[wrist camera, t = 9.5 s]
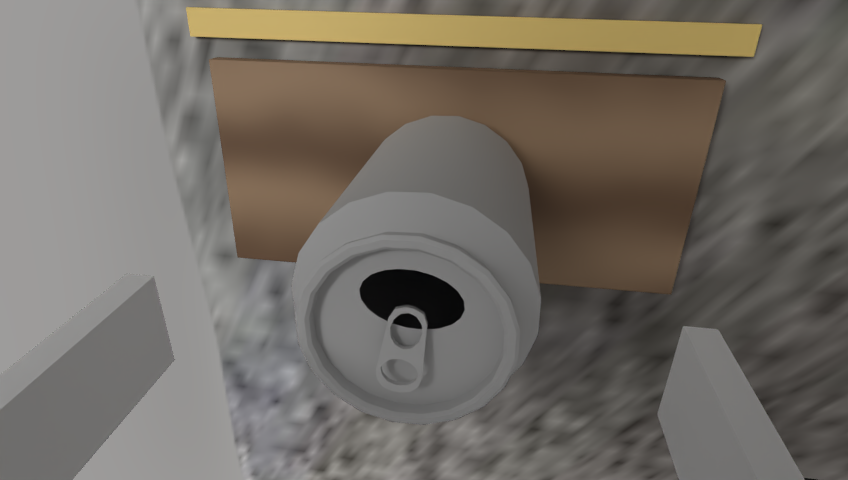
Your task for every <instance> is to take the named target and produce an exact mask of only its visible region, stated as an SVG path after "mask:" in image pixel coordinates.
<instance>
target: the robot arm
mask: <svg viewBox="0 0 848 480" xmlns="http://www.w3.org/2000/svg"><path fill="white" fill-rule="evenodd" d="M173 361H174V356H173V351H172V347H171V343H170V339H169V336H168V331H167V327H166V323H165V319H164V315H163V311H162V307H161V304H160V299H159V296H158V292H157V287H156V283H155V279H154V276H146V275H135V274H126V275H124V276H123V277H122V278H121V279H119V280H118V281H117V282H116V283H114V284H113V285H112V286H111V287H109V288H108V289H107V290H106V291H104V292H103V293H102V294H101V295H99V296H98V297H97V298H96V299H94V300H93V301H92V302H91V303H89V304H88V305H87V306H86V307H84V308H83V309H82V310H81V311H79V312H78V313H77V314H76V315H74V316H73V317H72V318H71V319H69V320H68V321H67V322H66V323H64V324H63V325H62V326H61V327H59V328H58V329H57V330H56V331H54V332H53V333H52V334H51V335H49V336H48V337H47V338H46V339H44V340H43V341H42V342H41V343H39V344H38V345H37V346H36V347H34V348H33V349H32V350H31V351H29V352H28V353H27V354H26V355H24V356H23V357H22V358H21V359H19V360H18V361H17V362H16V363H14V364H13V365H12V366H11V367H9V368H8V369H7V370H6V371H4V372H3V373H2V374H1V375H0V480H73V478H74V477H75V476H76V475H77V474H78V472H79V471H80V470H81V469H82V468H83V467H84V465H85V464H86V463H87V462H88V461H89V460H90V458H91V457H92V456H93V455H94V454H95V453H96V451H97V450H98V449H99V448H100V447H101V445H102V444H103V443H104V442H105V441H106V439H108V437H109V436H110V435H111V434H112V433H113V431H114V430H115V429H116V428H117V427H118V425H119V424H120V423H121V422H122V421H123V420H124V419H125V417H126V416H127V415H128V414H129V413H130V412H131V410H132V409H133V408H134V407H135V406H136V405H137V403H138V402H139V401H140V400H141V399H142V397H143V396H144V395H145V394H146V393H147V391H148V390H149V389H150V388H151V387H152V386H153V385H154V383H155V382H156V381H157V380H158V379H159V378H160V376H161V375H162V374H163V373H164V372H165V371H166V369H167V368H168V367H169V366H170V365H171V363H172V362H173ZM657 415H658V418H659V421H660V424H661V427H662V430H663V433H664V436H665V439H666V442H667V445H668V448H669V452H670V455H671V458H672V461H673V464H674V467H675V470H676V473H677V476H678V479H679V480H816V479H808V478H804V477H803V476H802V474H801V472H800V470H799V469H798V467H797V465H796V463H795V462H794V460H793V458H792V457H791V455H790V453H789V451H788V450H787V448H786V446H785V444H784V443H783V441H782V439H781V437H780V436H779V434H778V432H777V431H776V429H775V427H774V425H773V424H772V422H771V420H770V418H769V417H768V415H767V413H766V411H765V410H764V408H763V406H762V405H761V403H760V401H759V399H758V398H757V396H756V394H755V392H754V391H753V389H752V387H751V385H750V384H749V382H748V380H747V379H746V377H745V375H744V373H743V372H742V370H741V368H740V366H739V365H738V363H737V361H736V359H735V358H734V356H733V354H732V352H731V351H730V349H729V347H728V346H727V344H726V342H725V340H724V339H723V337H722V335H721V333H720V332H719V330H718V329H710V328H700V327H689V326H683V328H682V331H681V335H680V338H679V342H678V345H677V348H676V352H675V355H674V359H673V362H672V366H671V369H670V372H669V376H668V379H667V383H666V386H665V390H664V393H663V396H662V400H661V403H660V407H659V410H658V414H657Z"/></svg>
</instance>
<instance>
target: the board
mask: <svg viewBox="0 0 848 480" xmlns="http://www.w3.org/2000/svg"><path fill="white" fill-rule="evenodd" d="M209 63H210V70H211V77H212V84H213V91H214V97H215V104H216V111H217V118H218V125H219V132H220V139H221V146H222V152H223V159H224V166H225V173H226V180H227V187H228V194H229V201H230V207H231V214H232V221H233V228H234V235H235V242H236V249H237V256H238V257H240V258H252V259H263V260H275V261H287V262H297V258H298V253H299V252H300V250H301V249H302V247H303V246H304V244H305V243H306V241H307V240H308V238H309V237H310V235H311V234H312V232H313V231H314V229H315V228H316V227H317V225H318V224H319V222H320V221H321V220H322V219H323V217H324V216H325V215H326V213H327V212H328V211H329V210H330V208H331V207H332V206H333V205H334V203H335V202H336V201H337V200H338V198H339V197H340V196H341V194H342V193H343V192H344V191H345V189H346V188H347V187H348V186H349V184H350V183H351V182H352V180H353V179H354V178H355V177H356V175H357V174H358V173H359V172H360V170H361V169H362V168H363V167H364V165H365V164H366V163H367V161H368V160H369V159H370V158H371V156H372V155H373V154H374V153H375V151H376V150H377V149H378V147H379V146H380V145H381V144H382V142H383V141H384V140H385V139H386V138H387V137H389V136H390V135H391V134H393V133H394V132H395V131H397V130H398V129H399V128H401V127H402V126H404V125H405V124H407V123H410V122H413V121H416V120H419V119H423V118H426V117H429V116H460V117H463V118H466V119H469V120H472V121H475V122H478V123H481V124H483V125H486V126H487V127H488V128H490V129H491V130H492V131H494V132H495V133H496V134H498V135H499V136H500V137H502V138H503V139H504V140H506V141H507V142H508V144H509V145H510V147H511V148H512V150H513V151H514V153H515V154H516V156H517V157H518V158H519V160H520V161H521V163H522V166H523V169H524V173H525V177H526V180H527V184H528V188H529V196H530V205H531V214H532V222H533V231H534V240H535V249H536V258H537V267H538V275H539V283H544V284H555V285H567V286H579V287H590V288H602V289H614V290H625V291H637V292H649V293H660V294H671V293H672V289H673V285H674V282H675V278H676V274H677V270H678V266H679V262H680V258H681V254H682V250H683V246H684V243H685V239H686V235H687V231H688V227H689V223H690V219H691V215H692V211H693V208H694V204H695V200H696V196H697V192H698V188H699V184H700V180H701V176H702V172H703V169H704V165H705V161H706V157H707V153H708V149H709V145H710V141H711V137H712V134H713V130H714V126H715V122H716V118H717V114H718V110H719V106H720V102H721V98H722V95H723V91H724V87H725V83H726V81H725V80H723V79H720V78H711V77H687V76H662V75H638V74H613V73H589V72H564V71H540V70H515V69H491V68H466V67H442V66H417V65H393V64H368V63H344V62H319V61H295V60H270V59H246V58H221V57H217V58H213V59H209Z"/></svg>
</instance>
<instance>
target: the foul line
mask: <svg viewBox="0 0 848 480" xmlns="http://www.w3.org/2000/svg"><path fill="white" fill-rule="evenodd" d="M186 10H187V17H188V23H189V30H190V36H194V37H221V38H249V39H276V40H304V41H331V42H359V43H386V44H414V45H441V46H469V47H496V48H524V49H552V50H579V51H607V52H634V53H662V54H689V55H717V56H744V57H754V54H755V50H756V46H757V43H758V39H759V35H760V32H761V28H762V24H737V23H703V22H670V21H636V20H602V19H569V18H535V17H501V16H468V15H434V14H400V13H367V12H333V11H300V10H266V9H232V8H199V7H186Z"/></svg>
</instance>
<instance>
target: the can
mask: <svg viewBox="0 0 848 480" xmlns="http://www.w3.org/2000/svg"><path fill="white" fill-rule="evenodd" d="M291 287H292V294H293V301H294V308H295V323H296V330H297V337H298V344H299V346H300V348H301V350H302V352H303V354H304V356H305V358H306V360H307V362H308V364H309V366H310V368H311V370H312V372H313V373H314V374H315V375H316V376H317V377H318V378H319V379H320V380H321V381H322V382H323V383H324V385H325V386H326V387H327V388H328V389H329V390H330V391H331V392H332V393H333V394H334V395H336V396H337V397H339V398H340V399H342V400H344V401H345V402H347V403H348V404H350V405H352V406H353V407H355V408H356V409H358V410H360V411H361V412H364V413H367V414H370V415H373V416H376V417H379V418H382V419H385V420H388V421H391V422H399V423H410V424H422V425H426V424H432V423H438V422H445V421H451V420H456V419H458V418H461V417H463V416H465V415H467V414H469V413H471V412H474V411H476V410H478V409H480V408H482V407H484V406H485V405H486V404H487V403H488V402H489V401H490V400H491V399H492V398H494V397H495V396H496V395H497V394H498V393H499V392H500V391H501V390H502V389H503V388H504V387H505V386H506V384H507V382H508V380H509V378H510V376H511V375H512V374H513V373H514V372H515V371H516V370H517V369H518V368H519V367H520V366H521V365H523V363H524V361H525V359H526V357H527V355H528V353H529V351H530V349H531V347H532V345H533V343H534V341H535V339H536V337H537V335H538V330H539V319H540V308H541V293H540V284H539V275H538V267H537V258H536V249H535V240H534V231H533V222H532V214H531V205H530V196H529V188H528V184H527V180H526V177H525V173H524V169H523V166H522V163H521V161H520V160H519V158H518V157H517V156H516V154H515V153H514V151H513V150H512V148H511V147H510V145H509V144H508V142H507V141H506V140H504V139H503V138H502V137H500V136H499V135H498V134H496V133H495V132H494V131H492V130H491V129H490V128H488V127H487V126H486V125H483V124H481V123H478V122H475V121H472V120H469V119H466V118H463V117H460V116H429V117H426V118H423V119H419V120H416V121H413V122H410V123H407V124H405V125H404V126H402V127H401V128H399V129H398V130H397V131H395V132H394V133H393V134H391V135H390V136H389V137H387V138H386V139H385V140H384V141H383V142H382V144H381V145H380V146H379V147H378V149H377V150H376V151H375V153H374V154H373V155H372V156H371V158H370V159H369V160H368V161H367V163H366V164H365V165H364V167H363V168H362V169H361V170H360V172H359V173H358V174H357V175H356V177H355V178H354V179H353V180H352V182H351V183H350V184H349V186H348V187H347V188H346V189H345V191H344V192H343V193H342V194H341V196H340V197H339V198H338V200H337V201H336V202H335V203H334V205H333V206H332V207H331V208H330V210H329V211H328V212H327V213H326V215H325V216H324V217H323V219H322V220H321V221H320V222H319V224H318V225H317V227H316V228H315V229H314V231H313V232H312V234H311V235H310V237H309V238H308V240H307V241H306V243H305V244H304V246H303V247H302V249H301V250H300V252H299V253H298V258H297V262H296V267H295V271H294V276H293V280H292V285H291Z"/></svg>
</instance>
